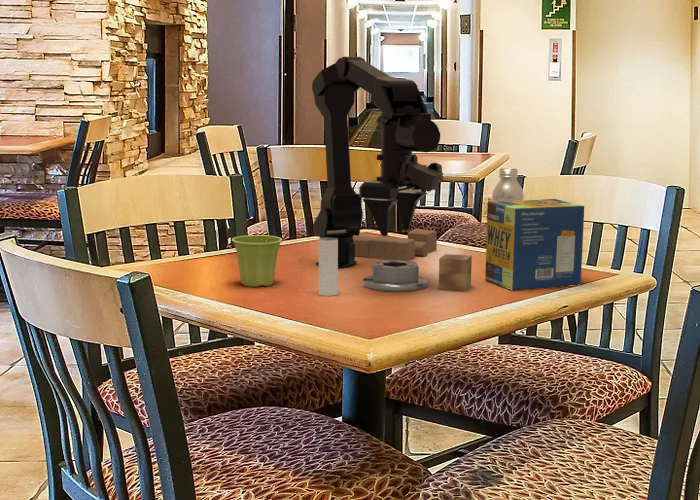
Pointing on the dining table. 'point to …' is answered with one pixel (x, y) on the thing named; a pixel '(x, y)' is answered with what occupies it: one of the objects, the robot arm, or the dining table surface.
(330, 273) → the tan elongated piece
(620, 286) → the dining table surface
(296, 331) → the dining table surface
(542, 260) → the protein box
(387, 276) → the socket
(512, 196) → the plastic bottle
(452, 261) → the brown wooden block
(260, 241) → the plant pot
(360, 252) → the wooden block set
